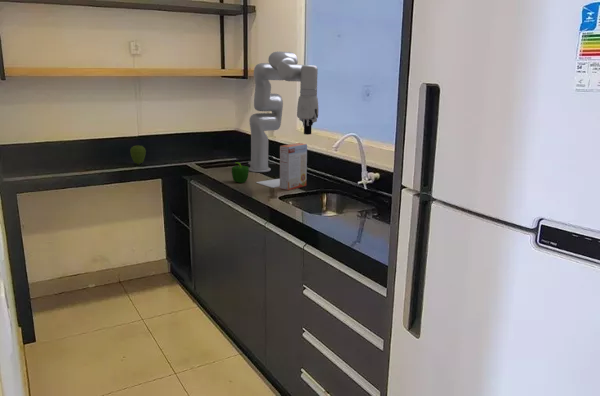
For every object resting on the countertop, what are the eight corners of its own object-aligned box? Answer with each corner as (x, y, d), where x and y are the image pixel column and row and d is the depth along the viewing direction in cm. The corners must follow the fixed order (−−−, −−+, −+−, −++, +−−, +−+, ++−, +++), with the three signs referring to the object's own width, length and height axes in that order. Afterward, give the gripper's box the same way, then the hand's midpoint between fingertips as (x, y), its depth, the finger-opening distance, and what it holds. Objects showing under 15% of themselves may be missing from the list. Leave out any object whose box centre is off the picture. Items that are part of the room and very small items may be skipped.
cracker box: (297, 184, 255) (298, 142, 250) (306, 186, 251) (308, 143, 246) (278, 188, 244) (279, 145, 239) (288, 190, 240) (289, 146, 235)
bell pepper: (252, 182, 256) (252, 162, 254) (239, 184, 250) (239, 164, 248) (241, 179, 262) (241, 160, 259) (228, 181, 256) (228, 162, 253)
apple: (128, 164, 293) (127, 144, 290) (142, 162, 298) (141, 143, 296) (134, 166, 287) (133, 146, 284) (148, 165, 292) (148, 144, 289)
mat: (255, 182, 255) (255, 182, 255) (283, 178, 266) (283, 177, 266) (273, 188, 245) (273, 187, 245) (301, 183, 256) (301, 182, 256)
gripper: (291, 92, 233) (290, 133, 237) (313, 94, 222) (312, 136, 226) (303, 92, 238) (302, 132, 242) (326, 94, 227) (324, 135, 231)
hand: (307, 134), depth 234 cm, fingers closed
